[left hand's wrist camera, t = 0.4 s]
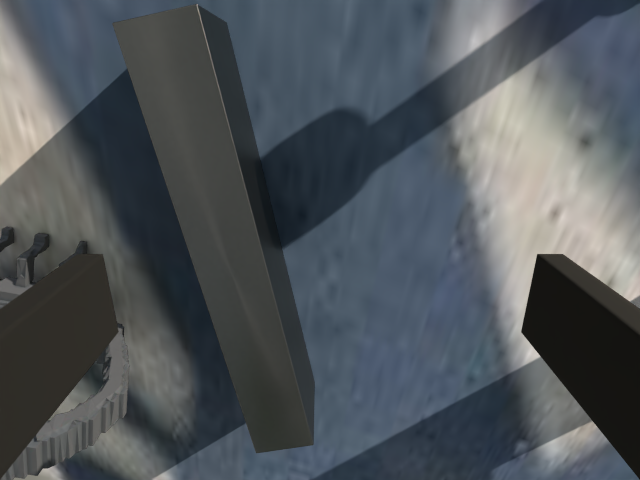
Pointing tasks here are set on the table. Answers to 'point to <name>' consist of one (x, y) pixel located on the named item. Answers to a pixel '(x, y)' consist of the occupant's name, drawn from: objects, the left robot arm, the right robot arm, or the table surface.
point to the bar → (224, 213)
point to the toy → (87, 418)
